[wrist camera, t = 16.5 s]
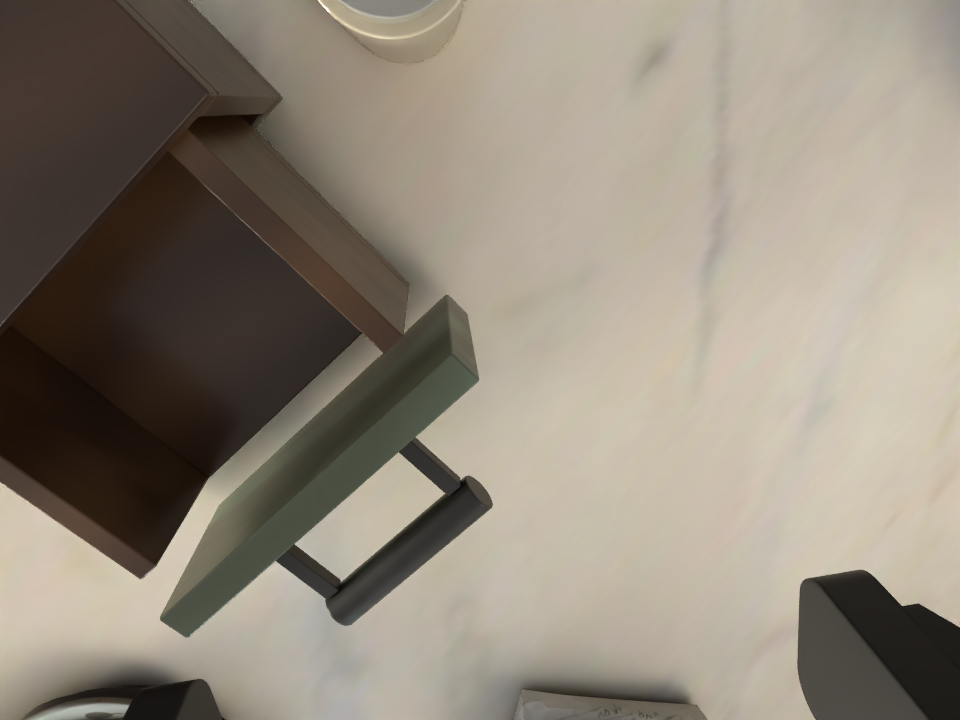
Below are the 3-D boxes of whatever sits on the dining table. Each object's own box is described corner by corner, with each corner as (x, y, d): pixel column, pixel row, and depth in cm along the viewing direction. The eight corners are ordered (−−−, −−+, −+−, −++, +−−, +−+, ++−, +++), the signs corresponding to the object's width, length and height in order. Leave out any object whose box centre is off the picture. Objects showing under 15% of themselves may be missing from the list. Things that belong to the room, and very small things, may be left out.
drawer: (539, 387, 28) (572, 470, 21) (315, 579, 30) (285, 705, 24) (189, 32, 22) (93, 2, 16) (-48, 303, 25) (-212, 371, 18)
